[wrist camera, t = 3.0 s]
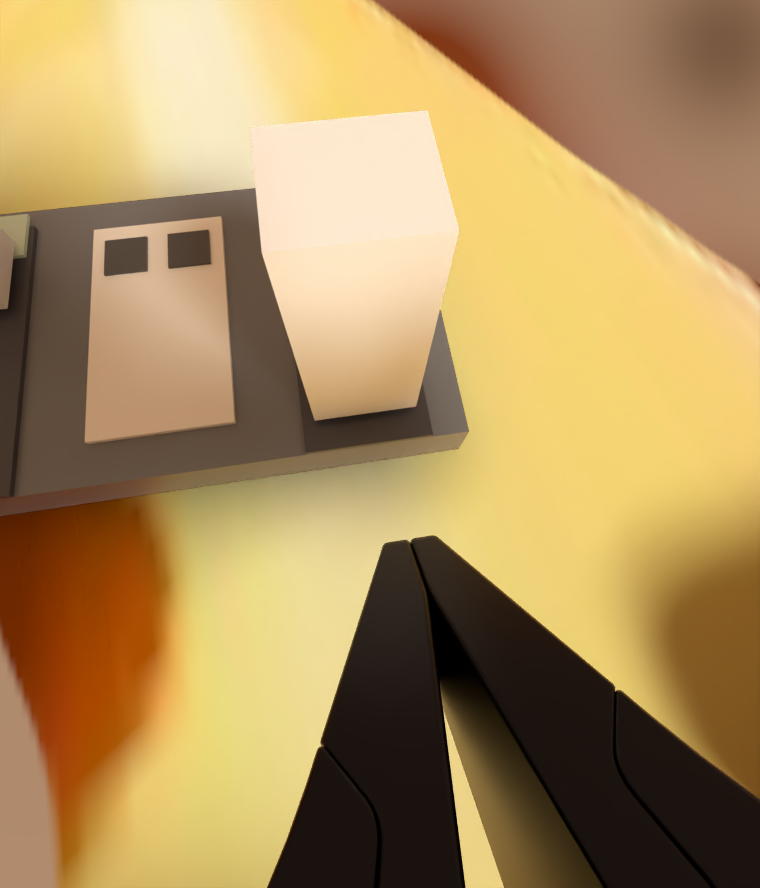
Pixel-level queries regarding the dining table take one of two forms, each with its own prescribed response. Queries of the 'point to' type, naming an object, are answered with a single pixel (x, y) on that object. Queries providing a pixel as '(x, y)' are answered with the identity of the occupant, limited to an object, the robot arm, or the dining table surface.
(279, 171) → the tab offwhite
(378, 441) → the switch bank
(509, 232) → the dining table surface
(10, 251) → the tab grey
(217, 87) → the dining table surface
